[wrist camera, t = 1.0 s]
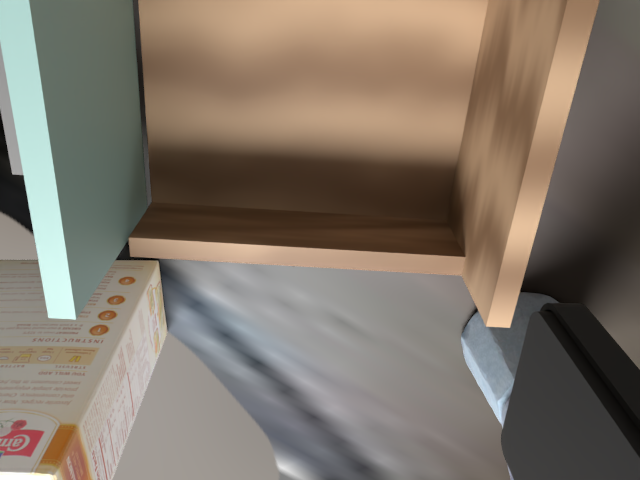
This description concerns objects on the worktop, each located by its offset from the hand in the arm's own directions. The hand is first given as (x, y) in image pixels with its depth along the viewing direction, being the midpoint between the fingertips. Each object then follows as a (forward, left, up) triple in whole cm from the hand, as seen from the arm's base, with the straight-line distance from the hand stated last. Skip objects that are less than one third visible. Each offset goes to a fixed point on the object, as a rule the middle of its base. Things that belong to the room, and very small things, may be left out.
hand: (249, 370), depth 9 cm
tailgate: (-1, -9, -25) cm, 27 cm away
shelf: (-1, +2, -29) cm, 29 cm away
